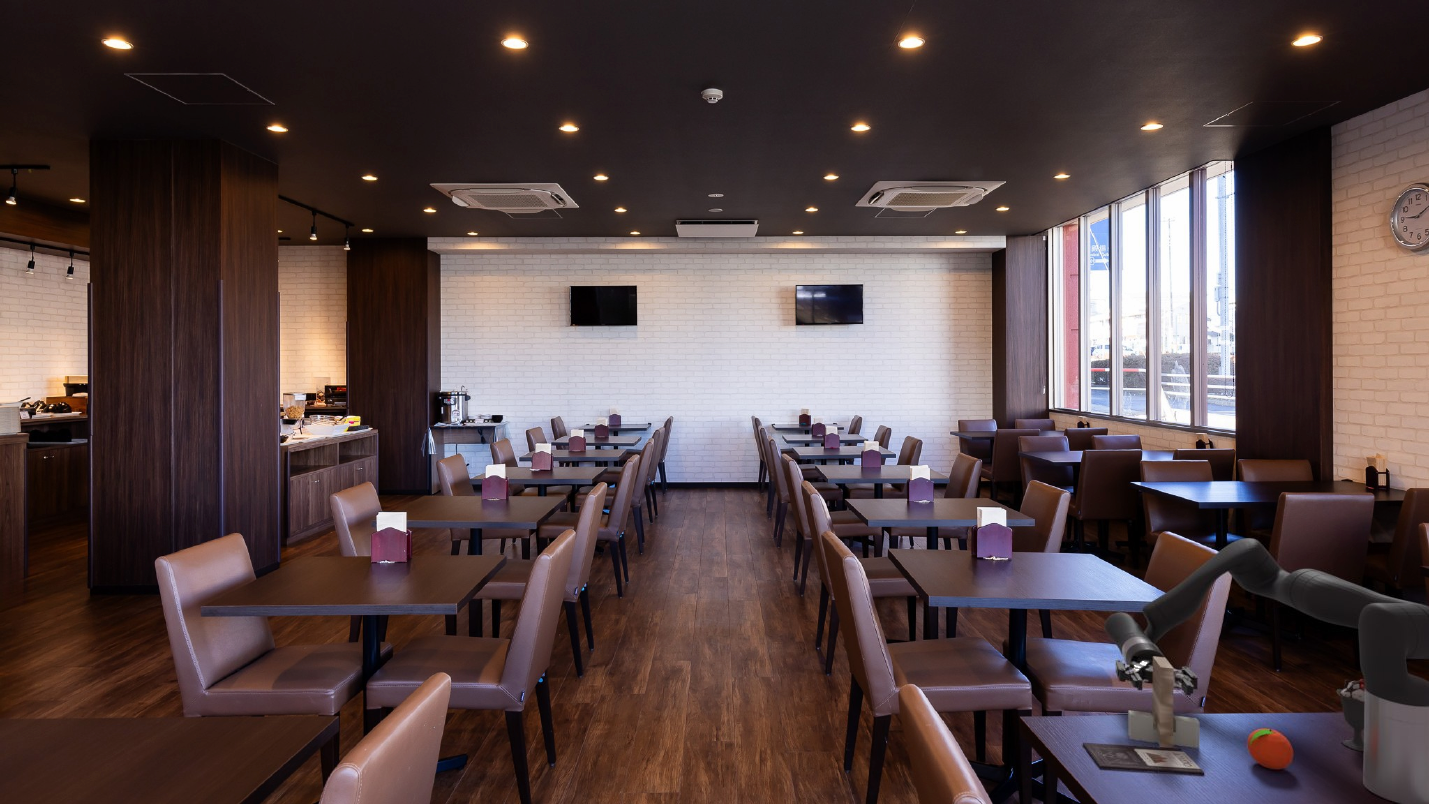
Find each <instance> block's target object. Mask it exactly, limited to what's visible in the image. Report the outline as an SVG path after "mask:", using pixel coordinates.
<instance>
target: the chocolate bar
mask: <svg viewBox="0 0 1429 804" xmlns="http://www.w3.org/2000/svg"><path fill="white" fill-rule="evenodd" d="M1082 746H1083V747H1084V749H1085V748H1086V749H1085V750H1086V752H1087V753H1088V754H1089V755H1091V756H1090V757H1091V758H1092V760H1093V759H1094V760H1095V761H1094V760H1093V761H1094V762H1095V764H1096V765H1097V766H1098V767H1099V769H1100V770H1113V769H1117V770H1116V771H1130V770H1131V771H1133V772H1145V773H1146V772H1147V773H1163V774H1165V773H1166V774H1178V775H1179V774H1180V775H1193V776H1194V775H1196V776H1205V771H1203V769H1202V768H1201V767H1200V766H1199V765H1197V764H1196V763H1195V762H1194V760H1193V759H1191V757H1190V756H1188V754H1187V753H1185V752H1184V751H1183V749H1181V748H1177V747H1174V748H1164V747H1160V746H1147V745H1145V746H1144V745H1127V744H1111V743H1110V744H1109V743H1096V742H1095V743H1092V742H1082Z"/></svg>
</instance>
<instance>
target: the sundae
mask: <svg viewBox="0 0 1429 804" xmlns="http://www.w3.org/2000/svg"><path fill="white" fill-rule="evenodd" d="M1343 687H1344V688H1343V689H1339V688H1337V690H1336V694H1337V695H1338V697H1339V698H1340V700H1341V705H1342V712H1343V717H1344V720H1345V722H1346V723H1347V724H1348V725H1349V726H1350V727H1351V728H1353V737H1352V738H1351V740H1345V741H1342V740H1341V741H1342V742H1344V743H1343V744H1346V746H1348V747H1349V748H1348V747H1347V748H1348V749H1350V748H1354V749H1355V750H1354V751H1357V750H1358V751H1357V752H1361V751H1364V739H1363V737H1362V736H1363V735H1362V733H1363V731H1364V708H1365V681H1364V677H1363V678H1361V679H1359V680H1353V681H1352V680H1349V679H1348V678H1347V679H1346V678H1345V680H1344V685H1343ZM1343 744H1342V745H1343ZM1346 746H1345V747H1346Z"/></svg>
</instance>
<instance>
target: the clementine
mask: <svg viewBox="0 0 1429 804" xmlns="http://www.w3.org/2000/svg"><path fill="white" fill-rule="evenodd" d="M1246 746H1247V751H1248V752H1249V754H1250V757H1252V759H1253V760H1254V761H1255V762H1256V763H1258V764H1259V765H1260V766H1262V767H1265V768H1267V769H1270V770H1281V769H1286V767H1288V766H1289V765H1290V764H1291V763H1292V761H1293V758H1294V749H1293V747H1292V744H1291V742H1290V741H1289V740H1288V739H1287V737H1286V736H1285V735H1283V734H1282V733H1280V732H1279V731H1277V730H1275V729H1271V728H1264V727H1263V728H1259V729H1256V730H1254V731H1252V732H1251V733H1250V734H1249V735H1248V737H1247V741H1246Z"/></svg>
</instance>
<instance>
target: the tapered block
mask: <svg viewBox="0 0 1429 804" xmlns="http://www.w3.org/2000/svg"><path fill="white" fill-rule="evenodd" d="M1174 669H1175V668H1174V667H1173V665H1172V664H1171V663H1170V662H1169V660H1168V659H1167V658H1166V657H1165V656H1164V657H1154V656H1153V684H1152V701H1151V702H1152V703H1151V704H1152V705H1151V706H1152V707H1151V708H1152V710H1151V711H1152V712H1151V715H1152V716H1153V725H1154V726H1155V727H1156V729H1157V730H1158V732H1159V743H1158V744H1159V746H1158V747H1164V748H1175V747H1174V746H1175V745H1174V737H1173V716H1174V687H1173V671H1174Z"/></svg>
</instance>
